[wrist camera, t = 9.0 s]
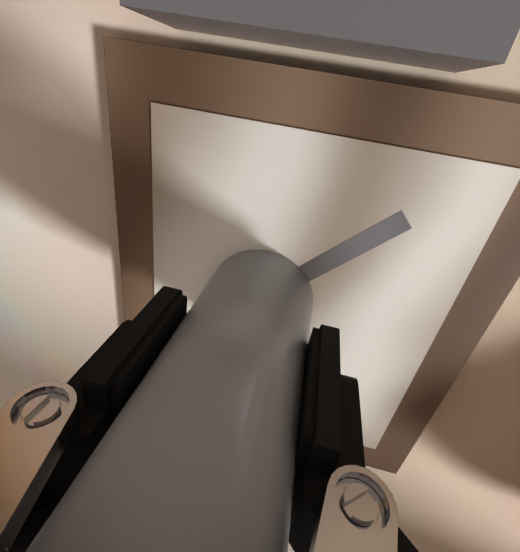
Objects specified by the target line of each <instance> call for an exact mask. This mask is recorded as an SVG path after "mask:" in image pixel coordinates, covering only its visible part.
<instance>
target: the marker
mask: <svg viewBox="0 0 520 552" xmlns="http://www.w3.org/2000/svg"><path fill="white" fill-rule="evenodd" d="M312 308H313V292H312V288H311V285H310V283H309V281H308V279H307V277H306V275H305V274H304V273H303V271H302V270H301V269H300V268H299V267H298V266H297V265H296V264H295V263H293V262H292V261H291V260H289V259H287V258H286V257H284V256H282V255H279V254H277V253H274V252H270V251H265V250H247V251H243V252H239V253H236V254H234V255H232V256H230V257H229V258H227V259H226V260H225V261H224V262H222V263H221V264H220V266H219V267H218V268H217V270H216V271H215V273H214V274H213V276H212V277H211V279H210V280H209V282H208V283H207V284H206V286H205V287H204V289H203V290H202V292H201V293H200V295H199V296H198V298H197V299H196V301H195V302H194V304H193V305H192V307H191V308H190V310H189V311H188V313H187V314H186V316H185V317H184V318H183V320H182V321H181V323H180V324H179V326H178V327H177V329H176V330H175V332H174V333H173V335H172V336H171V338H170V339H169V341H168V342H167V344H166V345H165V347H164V348H163V349H162V351H161V352H160V354H159V355H158V357H157V358H156V360H155V361H154V363H153V364H152V366H151V367H150V369H149V370H148V372H147V373H146V375H145V376H144V378H143V379H142V380H141V382H140V383H139V385H138V386H137V388H136V389H135V391H134V392H133V394H132V395H131V397H130V398H129V400H128V401H127V403H126V404H125V406H124V407H123V409H122V410H121V411H120V413H119V414H118V416H117V417H116V419H115V420H114V422H113V423H112V425H111V426H110V428H109V429H108V431H107V432H106V434H105V435H104V437H103V438H102V440H101V441H100V442H99V444H98V445H97V447H96V448H95V450H94V451H93V453H92V454H91V456H90V457H89V459H88V460H87V462H86V463H85V465H84V466H83V468H82V469H81V471H80V472H79V473H78V475H77V476H76V478H75V479H74V481H73V482H72V484H71V485H70V487H69V488H68V490H67V491H66V493H65V494H64V496H63V497H62V499H61V500H60V502H59V503H58V505H57V506H56V507H55V509H54V510H53V512H52V513H51V515H50V516H49V518H48V519H47V521H46V522H45V524H44V525H43V527H42V528H41V530H40V531H39V533H38V534H37V536H36V537H35V538H34V540H33V541H32V543H31V544H30V546H29V547H28V549H27V550H26V552H287V550H288V540H289V530H290V521H291V511H292V501H293V492H294V482H295V460H296V451H297V441H298V432H299V423H300V413H301V404H302V395H303V385H304V376H305V367H306V358H307V348H308V342H309V337H310V328H311V318H312Z"/></svg>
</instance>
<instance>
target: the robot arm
mask: <svg viewBox="0 0 520 552" xmlns="http://www.w3.org/2000/svg"><path fill="white" fill-rule="evenodd" d="M186 314H187V296H185V295H183V292H182V290H180V289H176V288H172V287H167V286H163V287H162V288H161V289H160V290H159V291H158V292H157V293H156V295H155V296H154V297H153V298H152V299H151V300H150V301H149V302H148V303H147V305H146V306H145V307H144V308H143V309H142V310H141V311H140V312H139V313H138V315H137V316H136V317H135V318H134V319H133V320H126V321H125V322H123V323H122V324H121V325H120V326H119V327H118V328H117V330H116V331H115V332H114V333H113V334H112V335H111V336H110V337H109V338H108V339H107V340H106V341H105V342H104V343H103V345H102V346H101V347H100V348H99V349H98V350H97V351H96V352H95V353H94V354H93V355H92V356H91V357H90V359H89V360H88V361H87V362H86V363H85V364H84V365H83V366H82V367H81V368H80V369H79V370H78V371H77V373H76V374H75V375H74V376H73V377H72V378H71V379H70V380H69V381H68V382H67V383H63V382H59V381H47V382H42V383H37V384H35V385H32V386H30V387H27V388H25V389H24V390H22V391H20V392H19V393H17V394H16V395H15V396H14V397H13V398H12V399H11V400H10V401H9V402H7V404H6V405H5V406H4V407H3V409H2V410H1V411H0V552H26V550H27V549H28V547H29V546H30V544H31V543H32V541H33V540H34V538H35V537H36V536H37V534H38V533H39V531H40V530H41V528H42V527H43V525H44V524H45V522H46V521H47V519H48V518H49V516H50V515H51V513H52V512H53V510H54V509H55V507H56V506H57V505H58V503H59V502H60V500H61V499H62V497H63V496H64V494H65V493H66V491H67V490H68V488H69V487H70V485H71V484H72V482H73V481H74V479H75V478H76V476H77V475H78V473H79V472H80V471H81V469H82V468H83V466H84V465H85V463H86V462H87V460H88V459H89V457H90V456H91V454H92V453H93V451H94V450H95V448H96V447H97V445H98V444H99V442H100V441H101V440H102V438H103V437H104V435H105V434H106V432H107V431H108V429H109V428H110V426H111V425H112V423H113V422H114V420H115V419H116V417H117V416H118V414H119V413H120V411H121V410H122V409H123V407H124V406H125V404H126V403H127V401H128V400H129V398H130V397H131V395H132V394H133V392H134V391H135V389H136V388H137V386H138V385H139V383H140V382H141V380H142V379H143V378H144V376H145V375H146V373H147V372H148V370H149V369H150V367H151V366H152V364H153V363H154V361H155V360H156V358H157V357H158V355H159V354H160V352H161V351H162V349H163V348H164V347H165V345H166V344H167V342H168V341H169V339H170V338H171V336H172V335H173V333H174V332H175V330H176V329H177V327H178V326H179V324H180V323H181V321H182V320H183V318H184V317H185V316H186ZM288 541H289V543H290V545H291V546H292V548H293V550H294V551H295V552H419V551H418V550H417V549H416V548H415V547H414V545H413V544H412V543H411V542H410V540H409V539H408V538H407V537H406V536H405V534H404V533H403V532H402V531H401V530H400V528H399V527H398V512H397V505H396V502H395V500H394V497H393V495H392V493H391V491H390V490H389V488H388V487H387V485H386V484H385V483H384V482H383V481H382V480H381V479H380V478H379V477H378V476H377V475H376V474H375V473H373V472H371V471H370V470H368V469H366V468H365V458H364V446H363V433H362V421H361V409H360V397H359V385H358V380H357V378H354V377H350V376H346V375H342V374H341V366H340V329H339V328H335V327H331V326H327V325H323V324H321V326H320V328H315V327H313V329H312V332H311V336H310V339H309V342H308V348H307V358H306V367H305V376H304V385H303V395H302V404H301V413H300V423H299V432H298V441H297V451H296V460H295V482H294V492H293V501H292V511H291V521H290V530H289V540H288Z"/></svg>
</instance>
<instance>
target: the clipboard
mask: <svg viewBox="0 0 520 552" xmlns="http://www.w3.org/2000/svg"><path fill="white" fill-rule="evenodd" d="M103 39H104V52H105V66H106V79H107V92H108V105H109V119H110V132H111V145H112V158H113V171H114V185H115V198H116V211H117V224H118V238H119V251H120V264H121V277H122V291H123V304H124V317H125V321H126V320H133V319H134V318H135V317H136V316H137V315H138V313H139V312H140V311H141V310H142V309H143V308H144V307H145V306H146V305H147V303H148V302H149V301H150V300H151V299H152V298H153V297H154V296H155V295H156V293H157V292H158V291H159V290H160V289H161V288H162V287H163V286H167V287H172V288H176V289H180V290H182V292H183V295H185V296H187V313H188V311H189V310H190V308H191V307H192V305H193V304H194V302H195V301H196V299H197V298H198V296H199V295H200V293H201V292H202V290H203V289H204V287H205V286H206V284H207V283H208V282H209V280H210V279H211V277H212V276H213V274H214V273H215V271H216V270H217V268H218V267H219V266H220V264H221V263H222V262H224V261H225V260H226V259H227V258H229V257H230V256H232V255H234V254H236V253H239V252H243V251H247V250H265V251H270V252H274V253H277V254H279V255H282V256H284V257H286V258H287V259H289V260H291V261H292V262H293V263H295V264H296V265H297V266H298V267H299V268H300V269H301V270H302V271H303V273H304V274H305V275H306V277H307V279H308V281H309V283H310V285H311V288H312V292H313V308H312V318H311V328H310V336H311V332H312V329H313V327H315V328H320V326H321V324H323V325H327V326H331V327H335V328H339V329H340V366H341V374H342V375H346V376H350V377H354V378H357V380H358V385H359V397H360V409H361V421H362V433H363V446H364V458H365V465H366V466H370V467H373V468H377V469H380V470H384V471H388V472H391V473H395V474H396V473H397V471H398V470H399V468H400V466H401V465H402V463H403V462H404V460H405V459H406V457H407V455H408V454H409V452H410V451H411V449H412V447H413V446H414V444H415V443H416V441H417V439H418V438H419V436H420V435H421V433H422V431H423V430H424V428H425V427H426V425H427V423H428V422H429V420H430V419H431V417H432V415H433V414H434V412H435V411H436V409H437V407H438V406H439V404H440V403H441V401H442V399H443V398H444V396H445V395H446V393H447V391H448V390H449V388H450V387H451V385H452V383H453V382H454V380H455V379H456V377H457V375H458V374H459V372H460V371H461V369H462V367H463V366H464V364H465V363H466V361H467V359H468V358H469V356H470V355H471V353H472V352H473V350H474V348H475V347H476V345H477V344H478V342H479V340H480V339H481V337H482V336H483V334H484V332H485V331H486V329H487V328H488V326H489V324H490V323H491V321H492V320H493V318H494V316H495V315H496V313H497V312H498V310H499V308H500V307H501V305H502V304H503V302H504V300H505V299H506V297H507V296H508V294H509V292H510V291H511V289H512V288H513V286H514V284H515V283H516V281H517V280H518V278H519V276H520V104H517V103H511V102H505V101H499V100H493V99H487V98H480V97H474V96H468V95H462V94H456V93H450V92H443V91H437V90H431V89H425V88H419V87H413V86H406V85H400V84H394V83H388V82H382V81H376V80H369V79H363V78H357V77H351V76H345V75H339V74H332V73H326V72H320V71H314V70H308V69H302V68H296V67H289V66H283V65H277V64H271V63H265V62H259V61H252V60H246V59H240V58H234V57H228V56H222V55H215V54H209V53H203V52H197V51H191V50H185V49H178V48H172V47H166V46H160V45H154V44H148V43H141V42H135V41H129V40H123V39H117V38H111V37H104V36H103ZM309 339H310V337H309Z"/></svg>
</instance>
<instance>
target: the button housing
mask: <svg viewBox="0 0 520 552" xmlns="http://www.w3.org/2000/svg"><path fill="white" fill-rule="evenodd" d="M120 5H121V6H123V7H125V8H128V9H130V10H133V11H135V12H137V13H140V14H142V15H145V16H147V17H149V18H152V19H154V20H156V21H159V22H161V23H164V24H166V25H168V26H171V27H173V28H175V29H180V30H186V31H193V32H199V33H206V34H212V35H218V36H225V37H231V38H238V39H244V40H250V41H257V42H263V43H269V44H276V45H282V46H289V47H295V48H301V49H308V50H314V51H321V52H327V53H333V54H340V55H346V56H353V57H359V58H365V59H372V60H378V61H385V62H391V63H397V64H404V65H410V66H417V67H423V68H429V69H436V70H442V71H449V72H455V73H456V72H461V71H467V70H472V69H477V68H483V67H488V66H493V65H499V64H504V63H505V61H506V58H507V56H508V54H509V52H510V49H511V47H512V45H513V42H514V40H515V38H516V36H517V33H518V31H519V29H520V0H120Z"/></svg>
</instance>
